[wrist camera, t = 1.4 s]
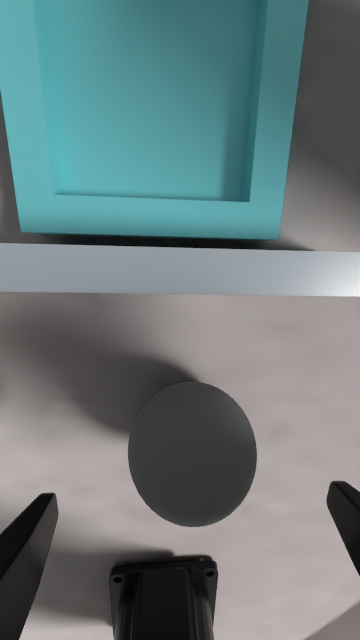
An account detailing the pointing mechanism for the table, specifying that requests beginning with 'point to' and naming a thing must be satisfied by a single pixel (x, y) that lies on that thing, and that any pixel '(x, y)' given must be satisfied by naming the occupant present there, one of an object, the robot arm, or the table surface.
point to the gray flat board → (176, 270)
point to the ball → (192, 454)
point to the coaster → (150, 115)
